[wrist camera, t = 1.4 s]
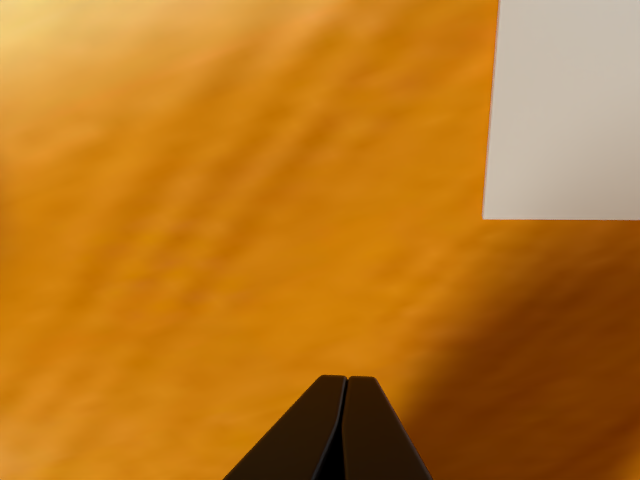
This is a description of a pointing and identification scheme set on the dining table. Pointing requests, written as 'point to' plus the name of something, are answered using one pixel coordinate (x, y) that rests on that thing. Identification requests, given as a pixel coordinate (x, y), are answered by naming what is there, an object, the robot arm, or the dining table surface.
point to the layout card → (565, 111)
